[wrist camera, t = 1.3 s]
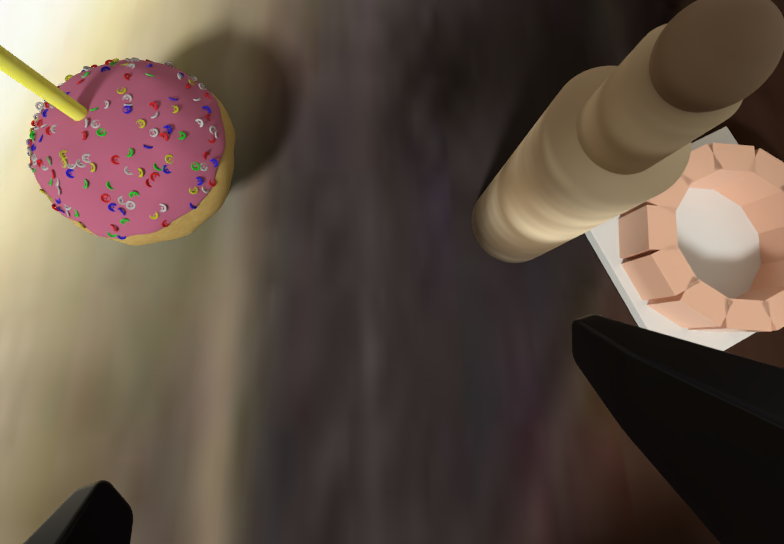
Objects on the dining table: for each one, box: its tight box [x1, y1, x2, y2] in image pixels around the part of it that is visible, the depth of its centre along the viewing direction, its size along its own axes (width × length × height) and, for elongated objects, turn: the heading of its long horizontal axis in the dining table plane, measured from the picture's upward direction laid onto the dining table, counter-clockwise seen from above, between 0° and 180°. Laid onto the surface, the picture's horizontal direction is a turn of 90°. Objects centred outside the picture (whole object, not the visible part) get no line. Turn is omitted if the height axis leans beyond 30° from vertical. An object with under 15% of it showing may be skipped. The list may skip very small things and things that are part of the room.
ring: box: [585, 126, 784, 351], centre depth 23 cm, size 11×11×3 cm
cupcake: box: [0, 45, 236, 245], centre depth 17 cm, size 9×8×12 cm
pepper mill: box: [472, 0, 784, 263], centre depth 16 cm, size 5×5×16 cm
